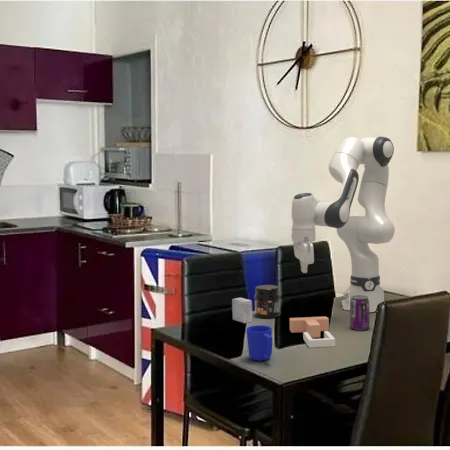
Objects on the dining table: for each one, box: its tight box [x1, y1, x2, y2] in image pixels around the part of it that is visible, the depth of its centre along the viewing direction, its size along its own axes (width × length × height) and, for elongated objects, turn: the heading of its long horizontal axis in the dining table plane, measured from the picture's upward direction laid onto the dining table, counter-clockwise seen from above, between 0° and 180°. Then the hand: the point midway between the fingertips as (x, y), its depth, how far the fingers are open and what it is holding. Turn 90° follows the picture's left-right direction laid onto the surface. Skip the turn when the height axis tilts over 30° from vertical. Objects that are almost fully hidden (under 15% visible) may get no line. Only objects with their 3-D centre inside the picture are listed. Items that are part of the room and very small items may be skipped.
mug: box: [246, 324, 273, 362], centre depth 209 cm, size 8×12×10 cm
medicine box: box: [231, 297, 253, 324], centre depth 260 cm, size 8×4×9 cm, turn 34°
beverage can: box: [349, 295, 371, 331], centre depth 243 cm, size 7×7×12 cm
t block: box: [288, 316, 330, 339], centre depth 239 cm, size 12×14×4 cm
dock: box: [302, 330, 336, 349], centre depth 227 cm, size 10×9×2 cm
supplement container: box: [253, 284, 281, 319], centre depth 267 cm, size 10×10×12 cm
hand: (304, 272), depth 249 cm, fingers closed
